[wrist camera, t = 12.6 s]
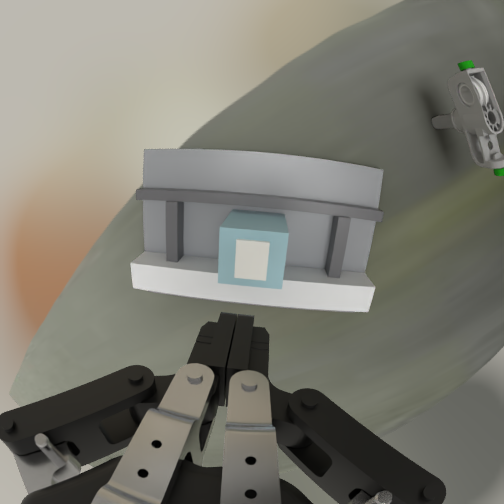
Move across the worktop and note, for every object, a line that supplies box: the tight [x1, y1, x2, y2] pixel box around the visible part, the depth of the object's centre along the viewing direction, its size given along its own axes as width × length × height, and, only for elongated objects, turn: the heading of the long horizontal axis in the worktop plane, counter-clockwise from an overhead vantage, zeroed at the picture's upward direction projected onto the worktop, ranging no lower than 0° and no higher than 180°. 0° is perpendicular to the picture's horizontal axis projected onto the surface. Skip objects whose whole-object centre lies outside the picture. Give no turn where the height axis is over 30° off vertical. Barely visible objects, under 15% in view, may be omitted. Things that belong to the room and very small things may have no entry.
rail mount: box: [131, 149, 384, 312], centre depth 26 cm, size 24×16×5 cm, turn 86°
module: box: [218, 209, 289, 289], centre depth 24 cm, size 5×4×7 cm
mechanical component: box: [432, 60, 504, 176], centre depth 18 cm, size 3×10×10 cm, turn 26°
